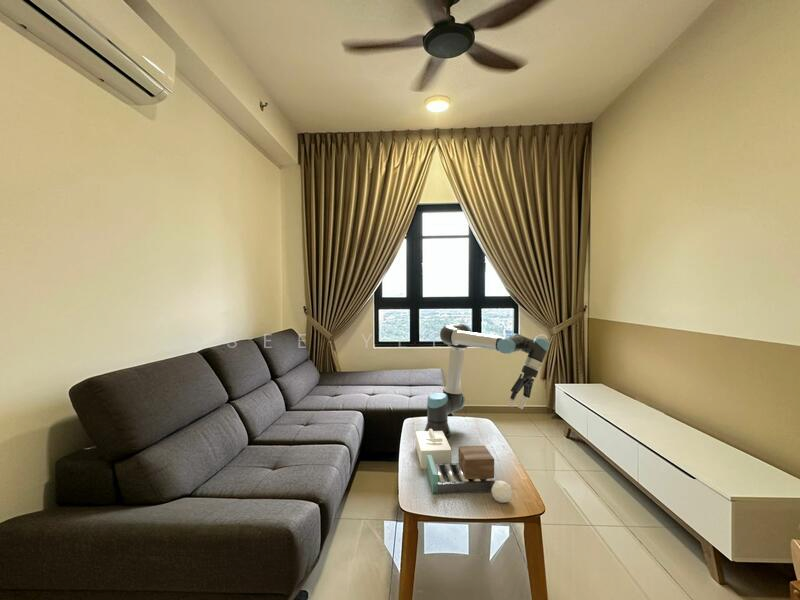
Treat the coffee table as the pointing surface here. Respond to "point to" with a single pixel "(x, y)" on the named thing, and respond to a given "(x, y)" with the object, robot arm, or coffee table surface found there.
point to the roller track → (462, 486)
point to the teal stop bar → (432, 473)
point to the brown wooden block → (476, 462)
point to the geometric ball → (501, 491)
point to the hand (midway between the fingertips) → (515, 406)
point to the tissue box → (432, 447)
